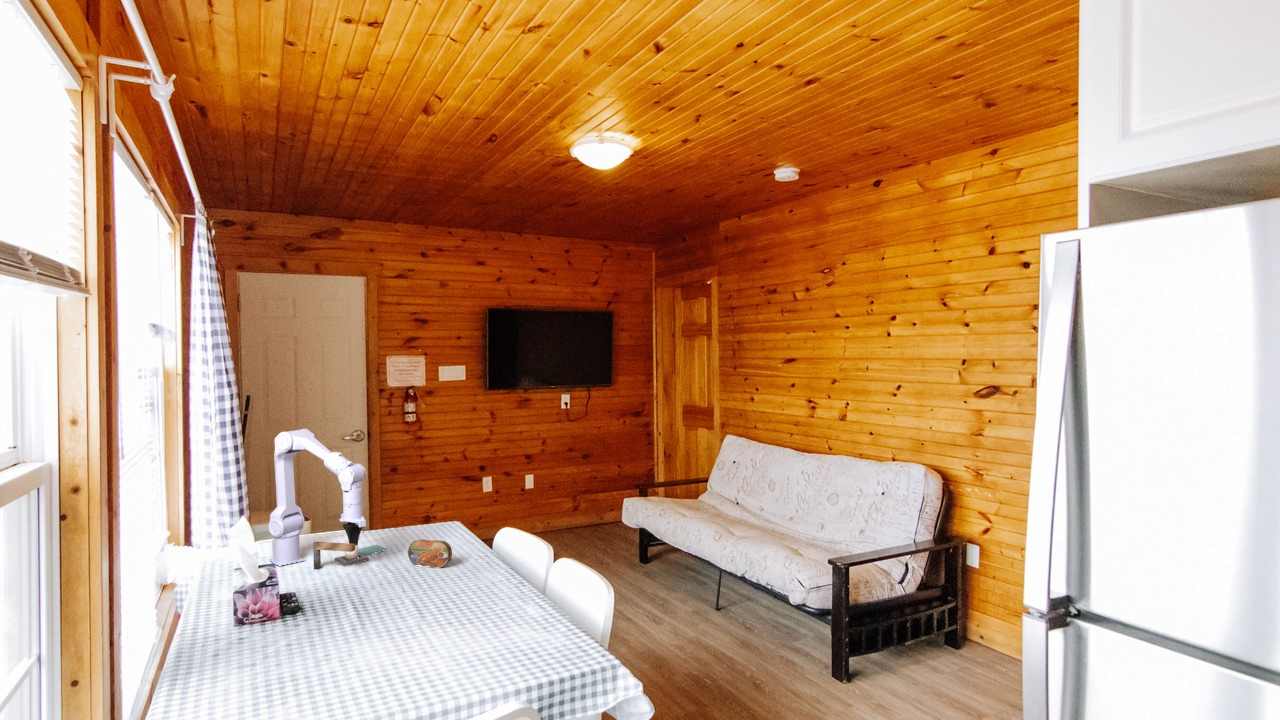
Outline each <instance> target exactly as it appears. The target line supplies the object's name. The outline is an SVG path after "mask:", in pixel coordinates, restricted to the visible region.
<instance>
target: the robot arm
mask: <svg viewBox="0 0 1280 720" xmlns="http://www.w3.org/2000/svg"><path fill="white" fill-rule="evenodd" d="M303 450H306V451H308V452H309V453H311V454H312V455H314V456H315V457H317V458H319V459H320V460H321V461H323V465H324V467H325V468H327V470H329V471H330V472H332V473H333V474H335V476H337V478H338V481H339V483H340V486H341V487H340V488H341V491H342V509H343V510H342V512H343V513H340V518H339V522H340V523H341V522H342V523H344V522H345V523H344V524H342V528H343V529H344V531H345V534H346V536H347V539H348V542H349V544H355V546H356V545H358V546H359V540H360V535H361V531H362V529H363V528H364V527H367V521H366V519H365V517H364V514H363V513H364V512H363V509H364V508H363V507H364V505H363V481H364V480H365V479H366V475H367V472H366V468H365V467H364V466H363V465H362V463H354V462H353V461H352V460H349V459H348V458H346V457H345V456H344V455H343V453H341V452H340V451H339V452H338V451H333V452H332V451H331V450H329V449H328V448H327V447H326V446H325V445H324V444H322V443H321V442H320V441H319V440H318V439H317V438H316V437H315V434H314V433H313V432H311V431H310V430H309V429H308V428H302V429H297V430H296V429H295V430H290V431H281V432H280V433H278V435H277V436H276V437H275V438H274V452H273V456H274V457H273V459H274V476H275V479H274V480H275V495H276V497H275V498H276V507H275V509H274V510H272V511H271V513H270V515H269V523H268V532H269V534H270V535H271V537H272V538H273V539H272V543H271V544H272V546H271V547H272V551H271V552H272V558H270V559H269V561H270V562H271V561H272V562H271V563H272V564H274V565H275V566H277V565H278V566H277V567H283V566H282V565H284V566H288V565H292V564H291V563H293V564H296V562H297V563H300V562H301V561H302V562H304V561H305V559H304V558H303V557H301V554H300V551H301V550H300V547H301V546H300V533H301V532H302V529H303V528H304V526H305V522H306V521H305V517H304V515H303V512H302V508H301V507H300V506H298V505H297V504H296V490H295V489H296V487H295V473H294V471H295V470H294V469H295V468H294V457H295V456H296V455H297V454H298V453H299V452H300V451H303ZM287 564H288V565H287Z"/></svg>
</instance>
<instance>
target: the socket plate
mask: <svg viewBox="0 0 1280 720" xmlns="http://www.w3.org/2000/svg"><path fill="white" fill-rule="evenodd" d="M358 557H359V558H358V559H353V560H349V561H346V560H345V555H340V556H336V557H334V561H335V562H336V561H337V562H336V563H338V562H339V563H338V564H340V565H342V564H343V565H342V566H344V567H346V566H345V565H347V566H350V565H349V564H351V565H354V564H353V563H355V564H358V563H357V562H359V563H362V562H361V561H363V562H365V561H364V560H368V561H369V560H370V557H369V556H368V555H366V556H365V555H363V554H361V553H359V552H358Z"/></svg>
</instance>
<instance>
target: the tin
mask: <svg viewBox="0 0 1280 720" xmlns="http://www.w3.org/2000/svg"><path fill="white" fill-rule="evenodd" d="M407 557H408V559H409V561H410V563H411V564H412V565H413V566H415V565H422V566H430V567H429V568H432V567H440V568H439V569H441V568H443V567H444V566H445V567H446V566H447V565H448V564H449V563H450V562H451V560H452V557H453V550H452V547H451V545H450V544H449V543H448V542H447V541H446V540H442V539H441V540H439V539H417V540H415V541H412V542H411V544H410V545H409V546H408V551H407Z"/></svg>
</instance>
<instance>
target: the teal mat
mask: <svg viewBox="0 0 1280 720" xmlns="http://www.w3.org/2000/svg"><path fill="white" fill-rule="evenodd" d="M382 550H387V551H388V549H387V548H385V547H383V546H381V545H378V544H374V545H370V546H365V547H360V548H358V552H359V553H361V554H363V555H366V556H368V555H367V554H370V555H372V554H371V553H374V554H376V553H375V552H378V553H380V552H379V551H382Z"/></svg>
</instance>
